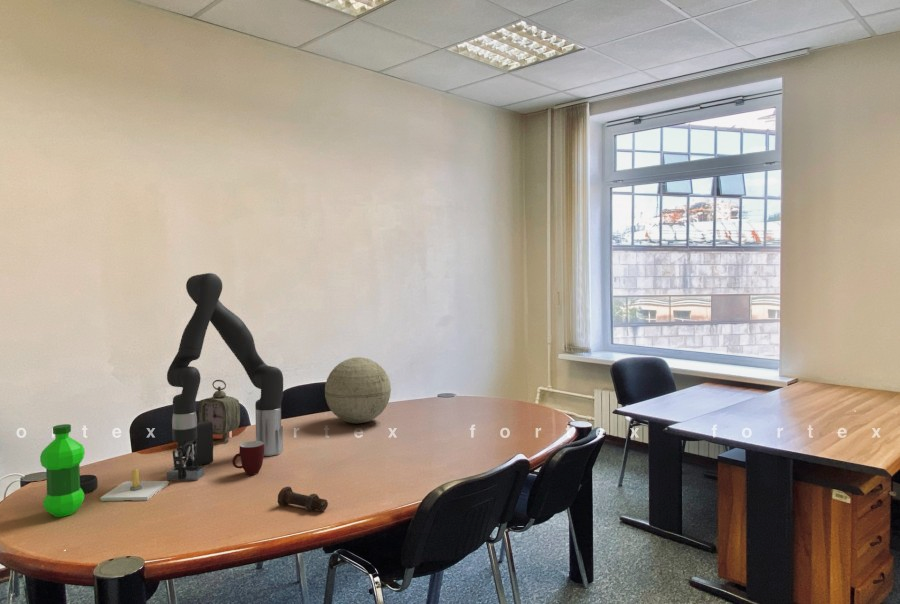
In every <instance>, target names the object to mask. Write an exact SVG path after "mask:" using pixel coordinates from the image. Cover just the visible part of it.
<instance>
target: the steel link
mask: <svg viewBox="0 0 900 604" xmlns="http://www.w3.org/2000/svg"><path fill="white" fill-rule="evenodd" d="M185 467H186V478H185V479H178V468H174V466H173V467H172V468H170V469H168V470H167V471H166V481H167V480H180V481H199V480H200V479H201V478H202V477H203V476H204V475H205V465H199V466H185ZM200 477H201V478H200ZM199 478H200V479H199ZM198 479H199V480H198Z"/></svg>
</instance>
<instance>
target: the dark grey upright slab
mask: <svg viewBox="0 0 900 604" xmlns="http://www.w3.org/2000/svg"><path fill="white" fill-rule="evenodd" d="M195 440H197V455H196V458H194V461H193V466H198V465H199V466H204V465H207V463H208V464H212V463H213V462H214V434H213V423H212V422H211V421H204V422H199V421H197V439H195ZM186 462H187V461H186ZM203 464H204V465H203Z"/></svg>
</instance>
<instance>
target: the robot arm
mask: <svg viewBox="0 0 900 604" xmlns="http://www.w3.org/2000/svg"><path fill="white" fill-rule="evenodd" d="M185 288H186V292H187V294H188V296H189V297H190V299H191V300H192V301H193V302H194V304H196V306H195V309H194V311H193V314H192V316H191V318H190V319H189V321H188V322H187V324H186V326H185V328H184V330H183V332H182V335H181V338H180V342H179V347H178V351H177V353H176V354H175V356H174V357H173V360H172V361H171V363H170V365H169V367H168V369H167V371H166V372H167V374H166V381H167V382H168V384H169V386H171V387H174V388H182V390H181V393H180V394H176V395H175V396H173V397H172V419H171V424H172V441H173V442H175V443H177V447H176V450H173V451H172V458H173V459H172V460H173V467H174V468H178V479H185V478H186V467H185V466H193V461H194V458H196V455H197V440H195V439H197V423H198V418H197V417H198V416H197V406H196V404H197V402H196V401H197V399H196V398H197V396H198V392H199V388H200V383H201V379H202V378H201V373H200V371H199V369H198V368H197V367H195V366H191V365H190V364H191V362H194V361H197V360H199V359H200V356H201V354H202V350H203V346H204V342H205V337H206V333H207V330H208V327H209V324H210V323H211V324H212V326H213V327H214V328H215V330H216V331H217V333H218V334H219V336H220V338H222V340H223V341H224V343H225V344H226V345H227V347H228V348H229V349H230V351H231V353H233V355H234V356H235V358H236V359H237V361H238V362H239V364H241V366H242V367H243V370H244V371H245V373H246V374H247V376H248V379H250V382H251V383H252V385H253V387H255V388H257V389H258V390H260V397H259V399H257V400H256V401H255V406H254V407H255V441H262V442H264V457H269V456H270V457H271V456H276V455H277V456H278V455H280V454H281V453H282V452H283V451H284V442H283V441H284V439H283V438H284V437H283V436H284V435H283V434H284V433H283V431H284V428H283V425H282V402H283V397H284V375H283V372H282V371H281V369H280V368H278V367H276V366H272V365H267V364H266V363H265V361H264V360H263V359H262V358H261V356H260V355H259V353H258V351H257V349H256V344H255V339H254V337H253V334H252V333H251V331H250V329H249V328H248V326H247V325H246V324H245V322H244V321H243V320H242V319H241V318H240V317H239V316H238V315H237V314H235V313H234V312H232V311H231V310H230V309H229V308H227V306H225V305H224V304H223V303H222V302H221V300H219V299H220V296H221V295H222V291H223V282H222V279H221V278H220V277H219V276H218V275H217V274H216V273H212V272H208V273H201V274H196V275H193V276H190V277H189V278H188V279H187V281H186V285H185ZM189 365H190V366H189ZM186 461H187V462H186Z"/></svg>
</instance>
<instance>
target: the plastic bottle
mask: <svg viewBox="0 0 900 604" xmlns="http://www.w3.org/2000/svg"><path fill="white" fill-rule="evenodd" d="M71 432H72V425H71V424H68V423H67V424H66V423H65V424H63V423H62V424H57V425H54V426H53V427H52V434H53V435H54V436H55V437H54V438H55V439H53V440H52V441H51V442H50V443H49V444H47V446H45V448H44V449H43V450H41V454H40V457H39V459H40V460H39V461H40V465H41V466H42V467H43V468H44V469H46V473H45V474H46V495H45V497H44V499H43V501H42V505H43V508H44V511H46V512H47V513H49V514H50V515H53V516H54V517H56V518H61V517H63V518H64V517H67V516H71V515H72V514H75V513H76V511H77V510H78V509H80V508H81V506H82V504H83V502H84V501H85V494H84V492H83V490H82V489H81V488H80V475H81V473H80V472H81V471H80V470H81V468H80V464H81V462H82V461H83V460H84V456H85V447H84V446H83V444H81V442H79V441H77V440H76V439H74V438H73V437H70V433H71Z"/></svg>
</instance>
